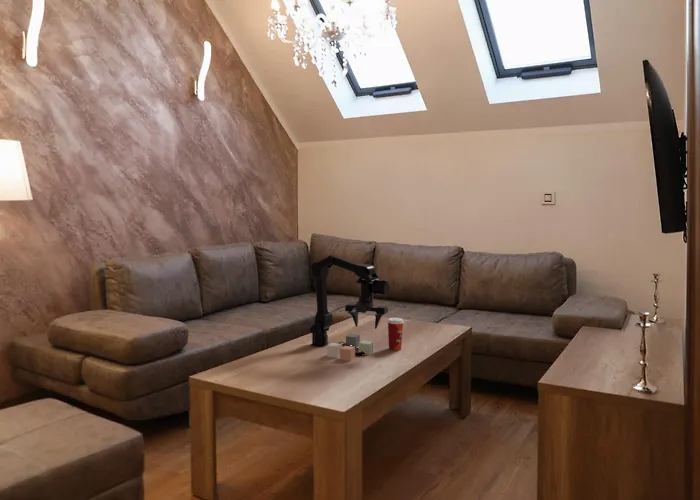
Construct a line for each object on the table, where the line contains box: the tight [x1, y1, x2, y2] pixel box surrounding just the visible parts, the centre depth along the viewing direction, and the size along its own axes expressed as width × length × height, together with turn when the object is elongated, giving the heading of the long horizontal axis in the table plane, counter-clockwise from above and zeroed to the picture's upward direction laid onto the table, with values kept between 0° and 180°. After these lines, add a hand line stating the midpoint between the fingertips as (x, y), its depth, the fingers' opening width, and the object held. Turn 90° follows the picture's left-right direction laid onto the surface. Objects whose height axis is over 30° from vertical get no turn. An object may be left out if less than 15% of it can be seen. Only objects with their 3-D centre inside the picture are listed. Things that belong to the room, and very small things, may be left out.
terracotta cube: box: [339, 345, 356, 362], centre depth 246 cm, size 5×5×5 cm
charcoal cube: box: [345, 333, 361, 348], centre depth 268 cm, size 5×5×5 cm
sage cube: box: [358, 340, 374, 356], centre depth 256 cm, size 5×5×5 cm
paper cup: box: [387, 317, 405, 351], centre depth 262 cm, size 8×8×14 cm
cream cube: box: [326, 342, 343, 359], centre depth 251 cm, size 5×5×5 cm
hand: (366, 327), depth 255 cm, fingers open, 9 cm apart
